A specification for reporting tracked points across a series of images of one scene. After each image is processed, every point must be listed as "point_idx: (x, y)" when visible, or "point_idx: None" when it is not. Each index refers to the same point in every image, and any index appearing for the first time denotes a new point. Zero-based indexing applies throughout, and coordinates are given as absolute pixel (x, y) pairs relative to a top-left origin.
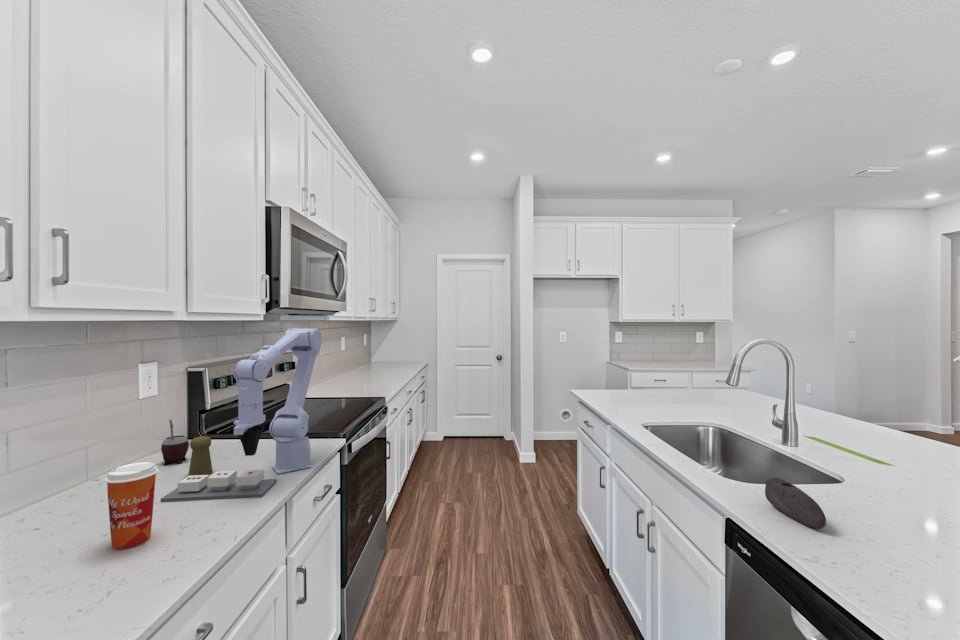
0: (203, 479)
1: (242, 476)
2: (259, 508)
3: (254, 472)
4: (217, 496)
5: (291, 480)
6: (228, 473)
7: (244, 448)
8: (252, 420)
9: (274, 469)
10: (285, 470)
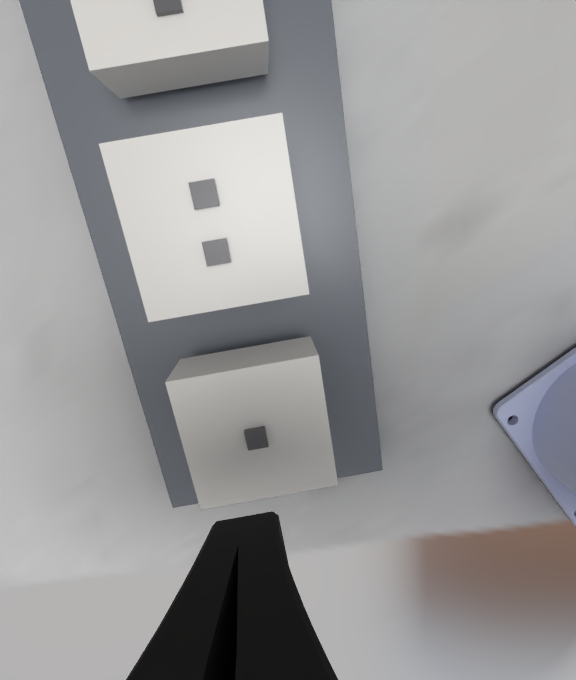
0: (170, 60)
1: (184, 422)
2: (56, 551)
3: (271, 458)
4: (104, 280)
5: (395, 518)
6: (236, 266)
7: (178, 612)
8: None
9: (565, 357)
10: (528, 438)
